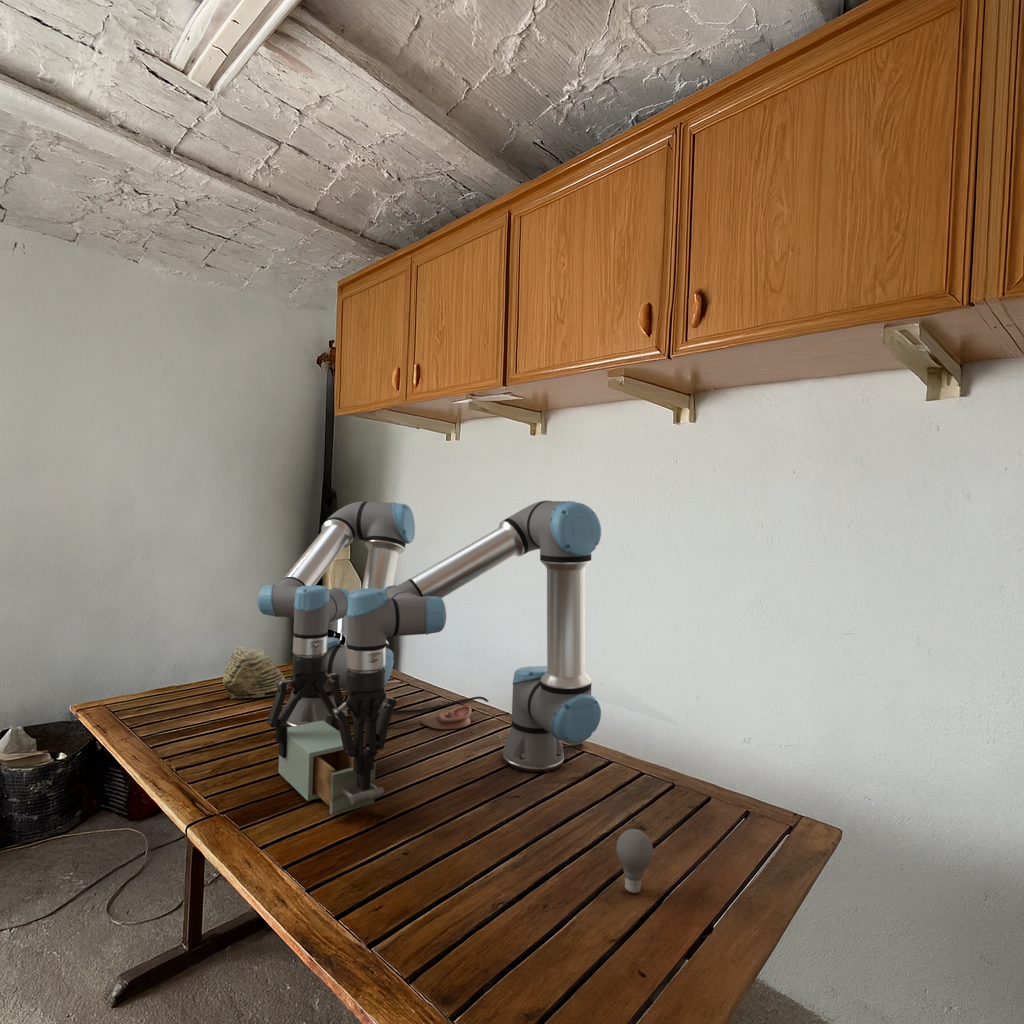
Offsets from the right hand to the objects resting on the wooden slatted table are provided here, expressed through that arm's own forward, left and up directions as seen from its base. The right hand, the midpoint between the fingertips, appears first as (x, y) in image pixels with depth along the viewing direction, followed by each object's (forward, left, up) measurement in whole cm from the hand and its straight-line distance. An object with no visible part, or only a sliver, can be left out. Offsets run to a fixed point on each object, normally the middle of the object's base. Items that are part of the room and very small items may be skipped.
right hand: (363, 787), depth 124 cm
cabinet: (+8, -20, -7) cm, 23 cm away
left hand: (+11, -25, -2) cm, 27 cm away
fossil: (+26, -86, -7) cm, 90 cm away
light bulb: (-41, +34, -7) cm, 54 cm away
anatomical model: (-28, -50, -7) cm, 58 cm away
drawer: (+3, -7, -6) cm, 10 cm away
